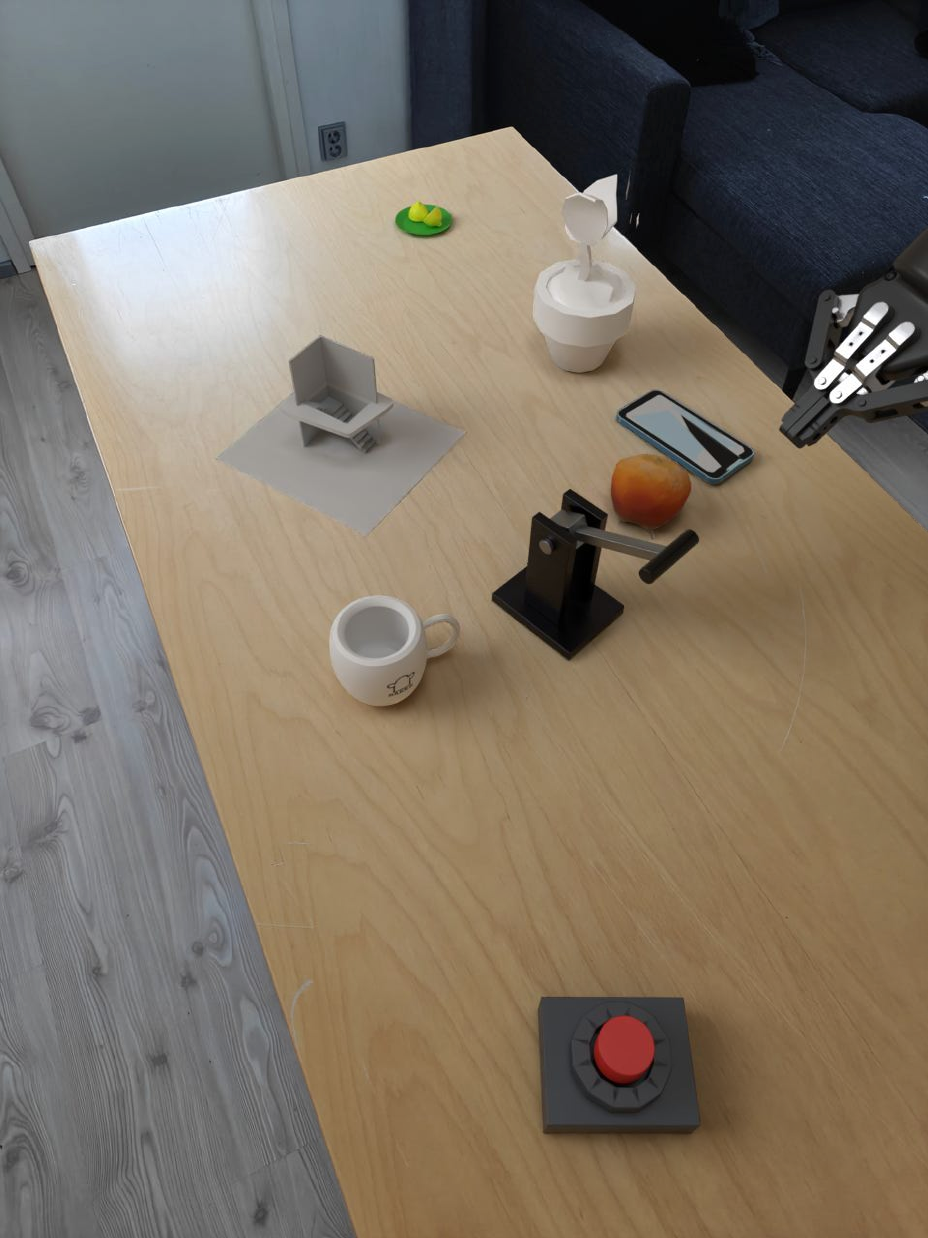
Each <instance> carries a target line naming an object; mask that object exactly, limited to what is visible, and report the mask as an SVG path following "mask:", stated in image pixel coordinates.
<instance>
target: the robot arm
mask: <svg viewBox="0 0 928 1238" xmlns="http://www.w3.org/2000/svg"><path fill="white" fill-rule="evenodd" d="M849 324H850V326H849ZM848 326H849V330H848V333H847V337H846V338H845V339H844V340H843V342H841V343H840V338H841V335H842V330H843V328H845V327H848ZM804 364H805V366H806V368H807V369H808V371H809V373H810V376H811V379H812V384H811V386H810V388H809V389H808V390H806V392H805V393H804V394H803V395H802V396H801V397H800V398H798V400H797V401H796V402H795V403H794V404H793V405H792V406H791V407H790V408H789V409H788V410H787V411H785V413H784V414H783V416H782V417H781V422H782V424H781V425H780V426H779V428H778V429H779V430H778V431H779V432H780V433H781V435H783V436H784V437H785V438H786V439H787V440H788V441H789V442H790V443H792V444H793V445H794V446H795V447H796V448H797V449H799V450H800V449H802V448H804V447H805V446H807V447H811V446H813V445H816V444H817V443H818V442H819V441H820V440H821V439H822V438H823V437H824V436H825V435H826V434H827V433H829V432H830V430H831V429H833V428H834V427H835V426H836V424H838V423H839V422H840V421H841V420H842V419H844V418H845V417H848V416H852V417H853V416H854V417H857V418H860V419H863V420H864V422H866V423H868V424H873V423H879V422H883V421H887V420H893V419H897V418H901V417H906V416H907V417H908V416H910V415H915V414H921V413H925V412H928V226H927V227H926V228H925V229H924V230H923V231H922V232H921V233H919V235H918V236H917V237H916V238H915V239H914V240H913V241H912V242H911V243H910V244H909V245H908V246H907V247H906V248H905V249H904V250H903V251H902V252H901V253H900V254H899V255H898V257H896V258H895V260H893V262H892V264H891V266H890V267H889V269H888V270H887V272H886V273H885V274H884V275H883V276H881V277H880V278H879V279H877V280H875V281H873V282H870V283H868V284H867V285H865V286H864V287H863V288H862V289H861V290H860V292H859V293H853V294H852V293H851V294H841V295H840V294H839V295H837V293H836V292H835V291H834V290H832V289H825V290H823V291H822V292H821V293H820V294H819V296H818V299H817V304H816V308H815V314H814V318H813V322H812V327H811V332H810V335H809V341H808V345H807V351H806V354H805V360H804ZM916 376H917V377H916ZM913 377H916V378H915V379H914V382H911V383H907V384H906V383H905V384H903V385H897V386H894V387H891V386H892V385H893V384H894V383H896V381H902V380H905V379H910V378H913Z"/></svg>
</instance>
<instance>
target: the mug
mask: <svg viewBox="0 0 928 1238" xmlns="http://www.w3.org/2000/svg"><path fill="white" fill-rule="evenodd" d="M440 623H447V624H449V625H450V626H451V634H450V636H449V638H448V639H447V640H446V642H445V643H443V644H441V645H440V646H437V647H435V648H432V649H428V637H427V633H426V629H428V628H431V627H432V626H434V625H436V624H440ZM460 634H461V626H460V622H459V621H458V619H457V618H455V617H454V616H453V615H451V614H447V613H441V614H435V615H432V616H431V617H428V618H426V619H424V620H422V618H421V617H420V616H419V614H418V613H417V612H416V611H415V609H413V608H412V606H410V605H409V604H408V603H407V602H405V601H404V600H402V599H400V598H397V597H394V596H390V595H383V594H374V595H368V596H364V597H360V598H358V599H355V600H353V601H352V602H350V603H348V604H347V605H346V606H344V607H343V608H342V609H341V610H340V612H339V613H338V614H337V616H336V617H335V619H334V621H333V622H332V625H331V627H330V631H329V642H328V643H329V644H328V649H329V657H330V663H331V665H332V669H333V671H334V674H335V676H336V678H337V680H338V681H339V683H340V685H341V686H342V687H343V688H344V689H345V691H346V692H347V693H348V695H350V696H351V697H353V698H355V700H357V701H359V702H360V703H362V704H365V705H368V706H373V707H388V706H393V705H395V704H398V703H400V702H402V701H403V700H405V699H407V698H408V697H409V696H410V695H411V694H412V693H413V692H414V691H415V689H417V687H418V685H419V684H420V682H421V680H422V678H423V676H424V672H425V670H426V667H427V661H428V659H430V658H435V657H438V656H441V655H443V654H444V653H446V652H448V651H450V650H451V649H452V648H453V647H454V646H455V645H456V643H457V642H458V640H459V638H460Z"/></svg>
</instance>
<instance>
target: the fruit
mask: <svg viewBox="0 0 928 1238" xmlns="http://www.w3.org/2000/svg"><path fill="white" fill-rule="evenodd" d="M612 472H613V473H612V476H611V481H610V498H611V502H612V507H613V511H614V514H615V516H616V517H617V521H618V522H617V523H618V524H621V523H632V524H635V525H638V526H640V527H642V528H644V529H645V530H646V531H647V532H649V533H650V536H651V537H650V538H651V539H652V540H654V530H656V529H657V528H661V527H663V526H664V525H665V524H666V523H667V522H669V521H670V520H672V519H673V518H674V517H675V516H676V515H677V514H678V513H679V512H680V511H681V510H682V509H683V507H684V505H685V503H686V502H687V500H688V499H689V496H690V495H691V492H692V481H691V477H690V474H689V473H688V471H686V470H685V469H683V468H682V467H681V466H680V465H679V464H677V463H676V462H674V461H672V460H670V459H669V458H667V457H666V456H662V455H657V454H648V453H641V454H636V455H633V456H627V457H624V458H622V459H620V460H618V461H617V462H616V464H615V467H614V469H613V471H612Z"/></svg>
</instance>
